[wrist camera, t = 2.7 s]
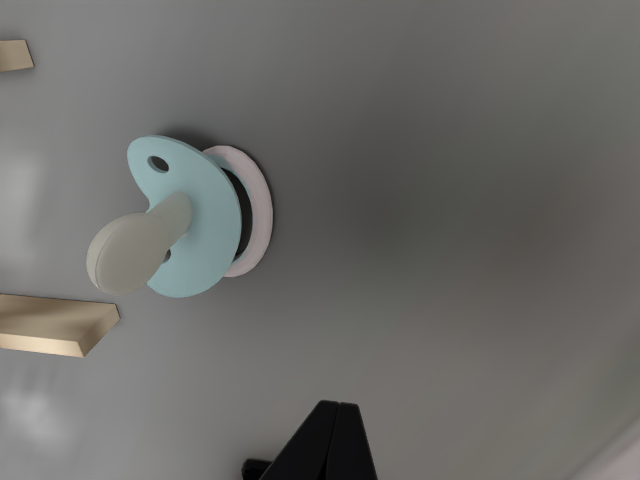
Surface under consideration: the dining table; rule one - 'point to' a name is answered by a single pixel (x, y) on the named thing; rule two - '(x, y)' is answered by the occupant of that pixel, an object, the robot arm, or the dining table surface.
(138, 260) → the pacifier
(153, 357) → the dining table surface
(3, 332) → the box
